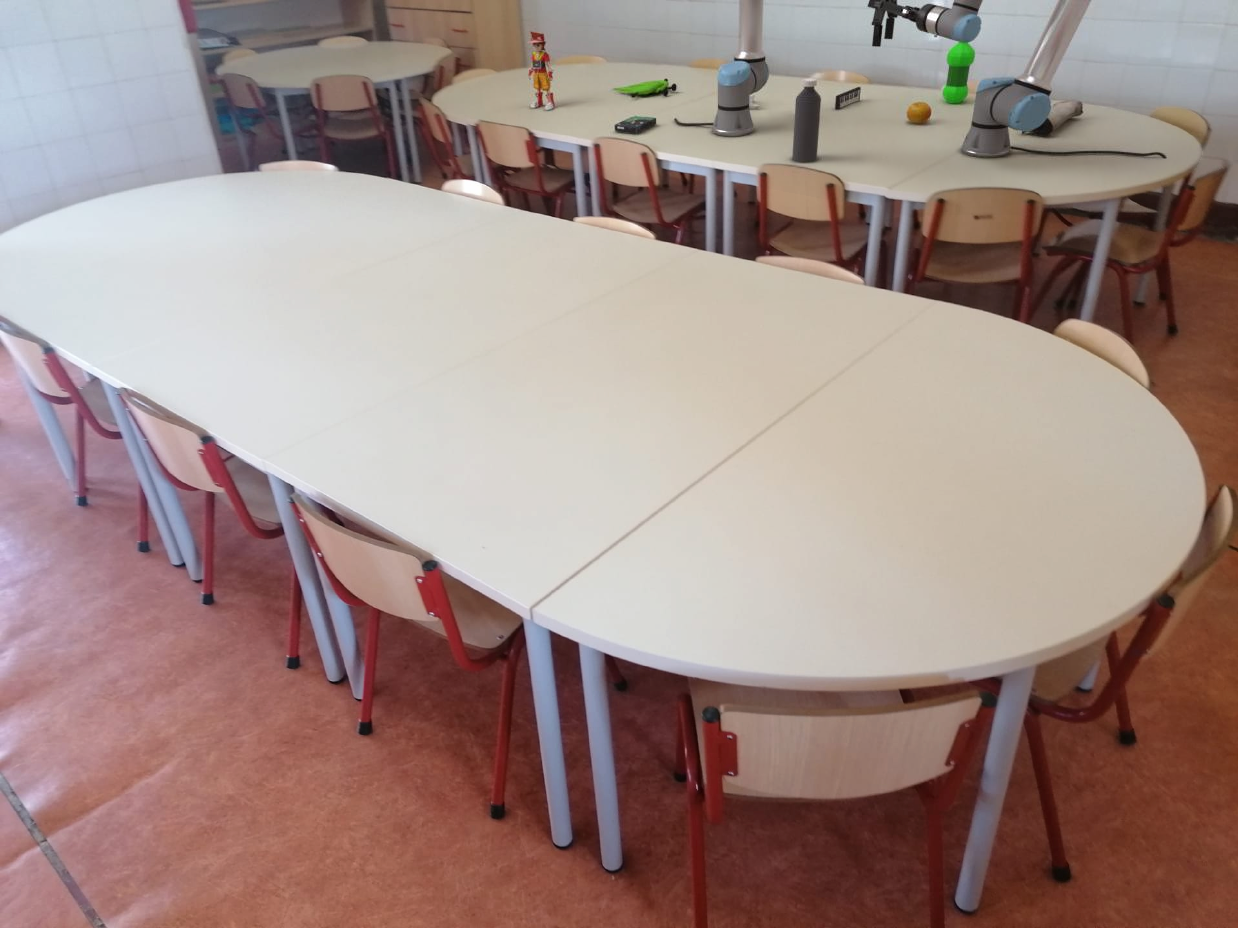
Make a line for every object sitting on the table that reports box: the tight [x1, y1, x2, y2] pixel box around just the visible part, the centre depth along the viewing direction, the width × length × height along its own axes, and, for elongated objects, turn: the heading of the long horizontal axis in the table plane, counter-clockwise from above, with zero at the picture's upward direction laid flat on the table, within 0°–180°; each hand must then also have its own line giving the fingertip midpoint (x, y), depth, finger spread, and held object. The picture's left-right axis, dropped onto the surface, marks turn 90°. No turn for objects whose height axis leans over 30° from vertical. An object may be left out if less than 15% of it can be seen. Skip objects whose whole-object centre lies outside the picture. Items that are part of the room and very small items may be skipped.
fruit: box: [906, 101, 932, 124], centre depth 331 cm, size 8×8×8 cm
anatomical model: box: [749, 94, 760, 109], centre depth 364 cm, size 15×10×10 cm
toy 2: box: [612, 78, 677, 99], centre depth 396 cm, size 28×5×30 cm
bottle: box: [791, 86, 822, 163], centre depth 297 cm, size 8×8×25 cm
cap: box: [801, 77, 818, 88], centre depth 290 cm, size 4×5×2 cm
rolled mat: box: [1021, 99, 1084, 138], centre depth 318 cm, size 30×9×10 cm
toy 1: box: [527, 31, 556, 111], centre depth 374 cm, size 12×9×30 cm
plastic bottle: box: [942, 41, 976, 104], centre depth 348 cm, size 10×10×25 cm
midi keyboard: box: [834, 86, 862, 110], centre depth 359 cm, size 18×1×5 cm, turn 138°
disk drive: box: [614, 115, 657, 135], centre depth 346 cm, size 10×3×15 cm
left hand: (882, 43), depth 307 cm, fingers open, 13 cm apart
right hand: (884, 6), depth 281 cm, fingers open, 13 cm apart
